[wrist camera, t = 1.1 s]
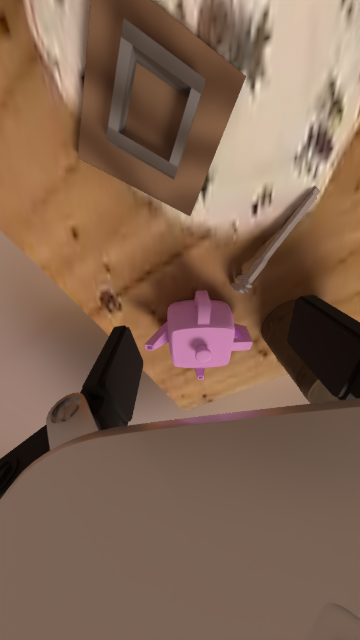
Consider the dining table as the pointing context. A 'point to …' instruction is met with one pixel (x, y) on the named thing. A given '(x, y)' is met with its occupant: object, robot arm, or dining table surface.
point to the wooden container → (292, 355)
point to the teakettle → (200, 333)
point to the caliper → (274, 244)
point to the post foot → (153, 101)
